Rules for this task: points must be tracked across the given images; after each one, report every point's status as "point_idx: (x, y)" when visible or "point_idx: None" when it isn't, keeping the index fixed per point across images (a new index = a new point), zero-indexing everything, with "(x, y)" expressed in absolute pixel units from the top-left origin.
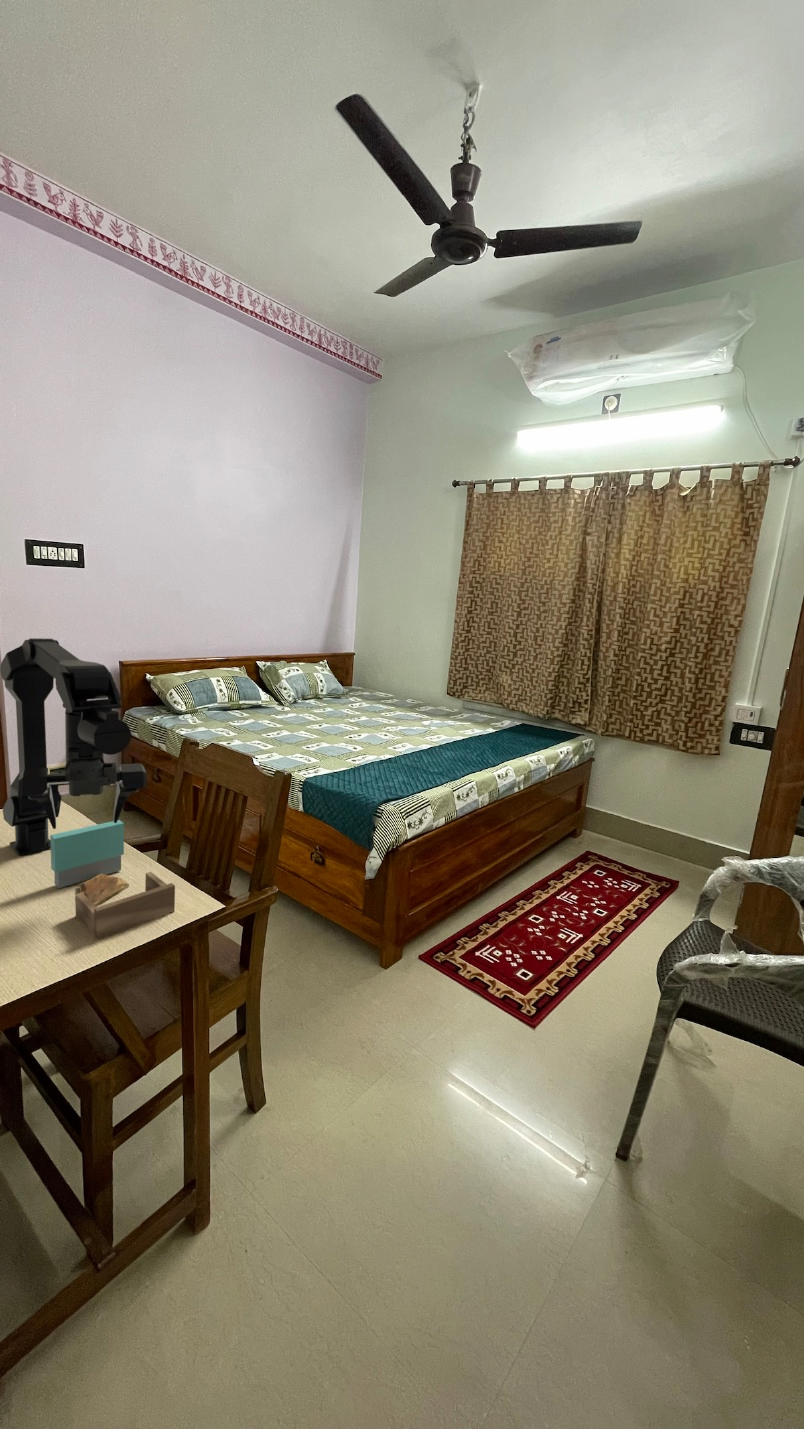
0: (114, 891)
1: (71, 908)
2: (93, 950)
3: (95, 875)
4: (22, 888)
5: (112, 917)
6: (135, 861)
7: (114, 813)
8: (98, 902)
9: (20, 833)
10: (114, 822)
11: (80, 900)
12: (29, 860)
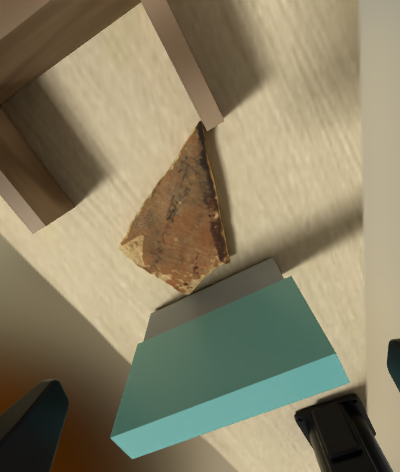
0: (142, 208)
1: (234, 163)
2: None
3: (200, 293)
4: (344, 272)
5: None
6: (130, 348)
7: (14, 451)
8: (172, 165)
9: (376, 449)
10: (50, 381)
11: (204, 79)
12: None
